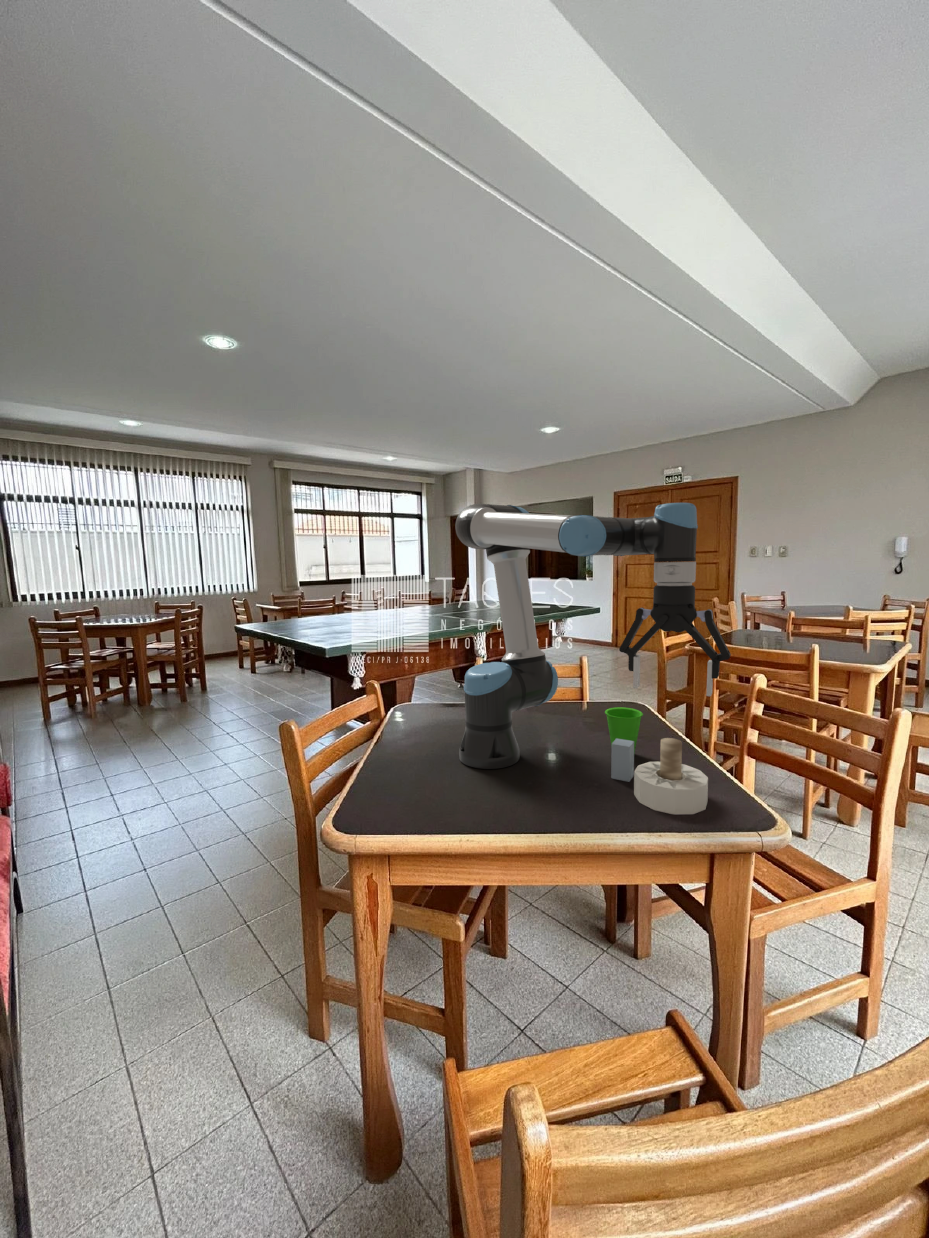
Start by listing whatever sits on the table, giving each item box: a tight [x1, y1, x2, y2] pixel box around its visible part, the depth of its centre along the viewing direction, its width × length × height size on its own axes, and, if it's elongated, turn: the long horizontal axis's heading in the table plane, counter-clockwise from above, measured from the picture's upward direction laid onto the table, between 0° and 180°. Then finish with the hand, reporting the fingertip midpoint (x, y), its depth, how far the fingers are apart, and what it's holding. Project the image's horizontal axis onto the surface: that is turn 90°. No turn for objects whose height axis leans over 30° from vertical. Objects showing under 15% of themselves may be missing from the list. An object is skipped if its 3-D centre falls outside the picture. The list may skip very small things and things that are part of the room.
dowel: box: [659, 737, 683, 780], centre depth 102 cm, size 4×4×12 cm
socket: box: [633, 761, 709, 815], centre depth 102 cm, size 14×14×5 cm
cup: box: [604, 706, 644, 755], centre depth 125 cm, size 9×9×11 cm
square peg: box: [610, 738, 635, 783], centre depth 113 cm, size 4×4×8 cm
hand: (671, 690), depth 100 cm, fingers open, 13 cm apart
